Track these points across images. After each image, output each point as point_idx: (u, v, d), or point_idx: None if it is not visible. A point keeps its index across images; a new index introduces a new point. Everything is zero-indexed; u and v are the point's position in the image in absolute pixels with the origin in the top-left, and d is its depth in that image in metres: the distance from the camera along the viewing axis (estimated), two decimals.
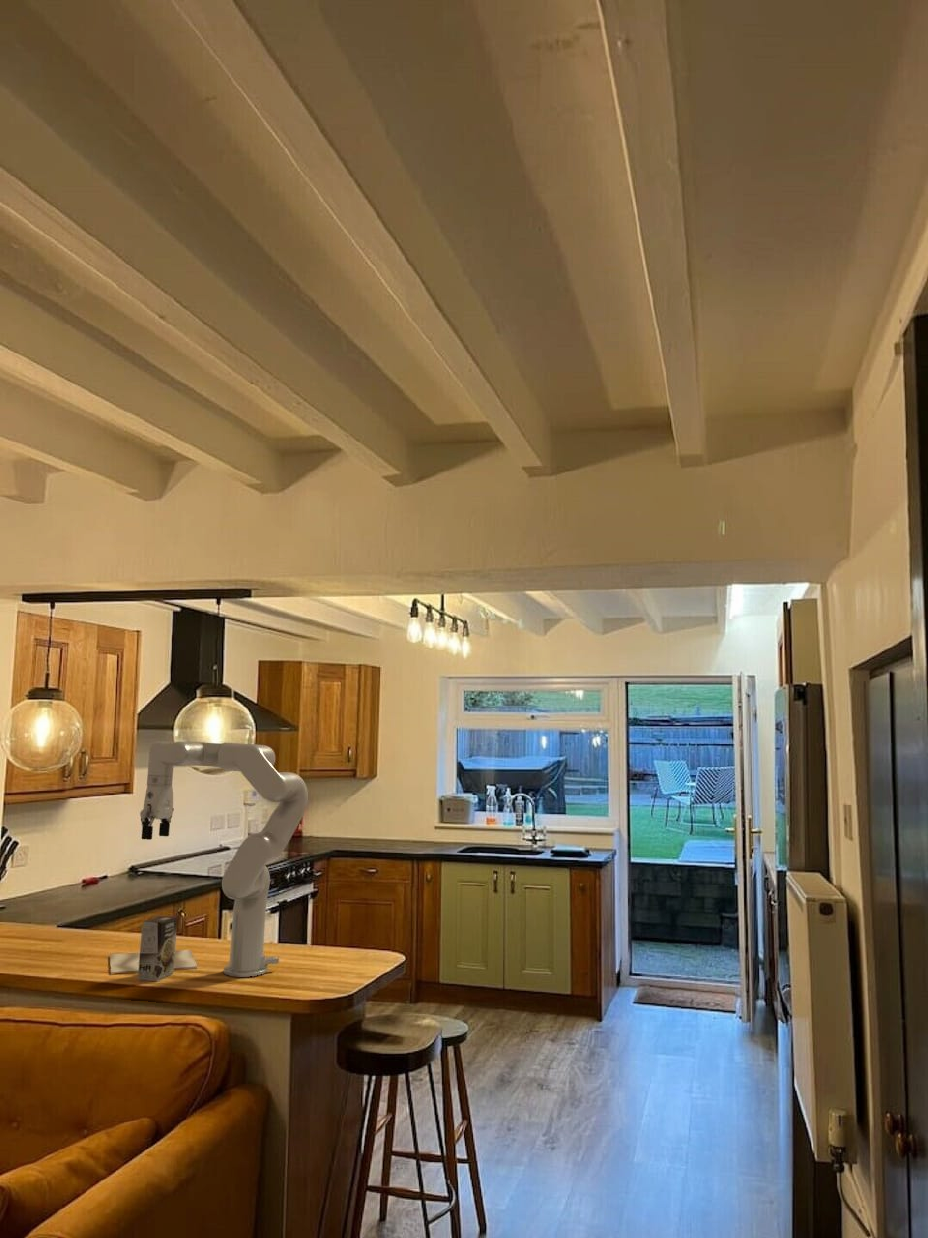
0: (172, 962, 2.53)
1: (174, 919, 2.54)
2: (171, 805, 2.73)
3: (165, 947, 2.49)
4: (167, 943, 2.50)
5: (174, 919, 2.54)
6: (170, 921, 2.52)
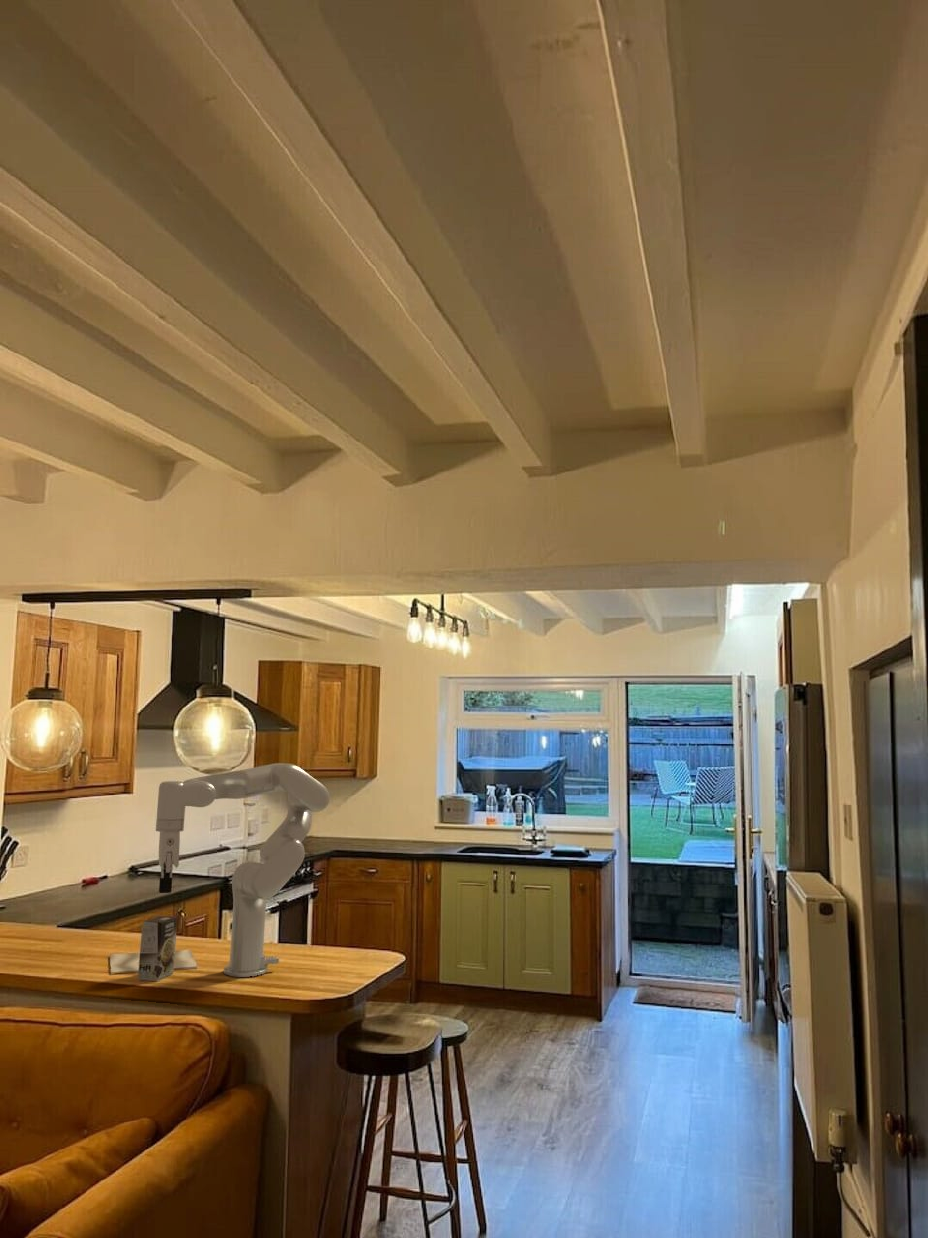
0: (172, 962, 2.53)
1: (174, 919, 2.54)
2: None
3: (165, 947, 2.49)
4: (167, 943, 2.50)
5: (174, 919, 2.54)
6: (170, 921, 2.52)
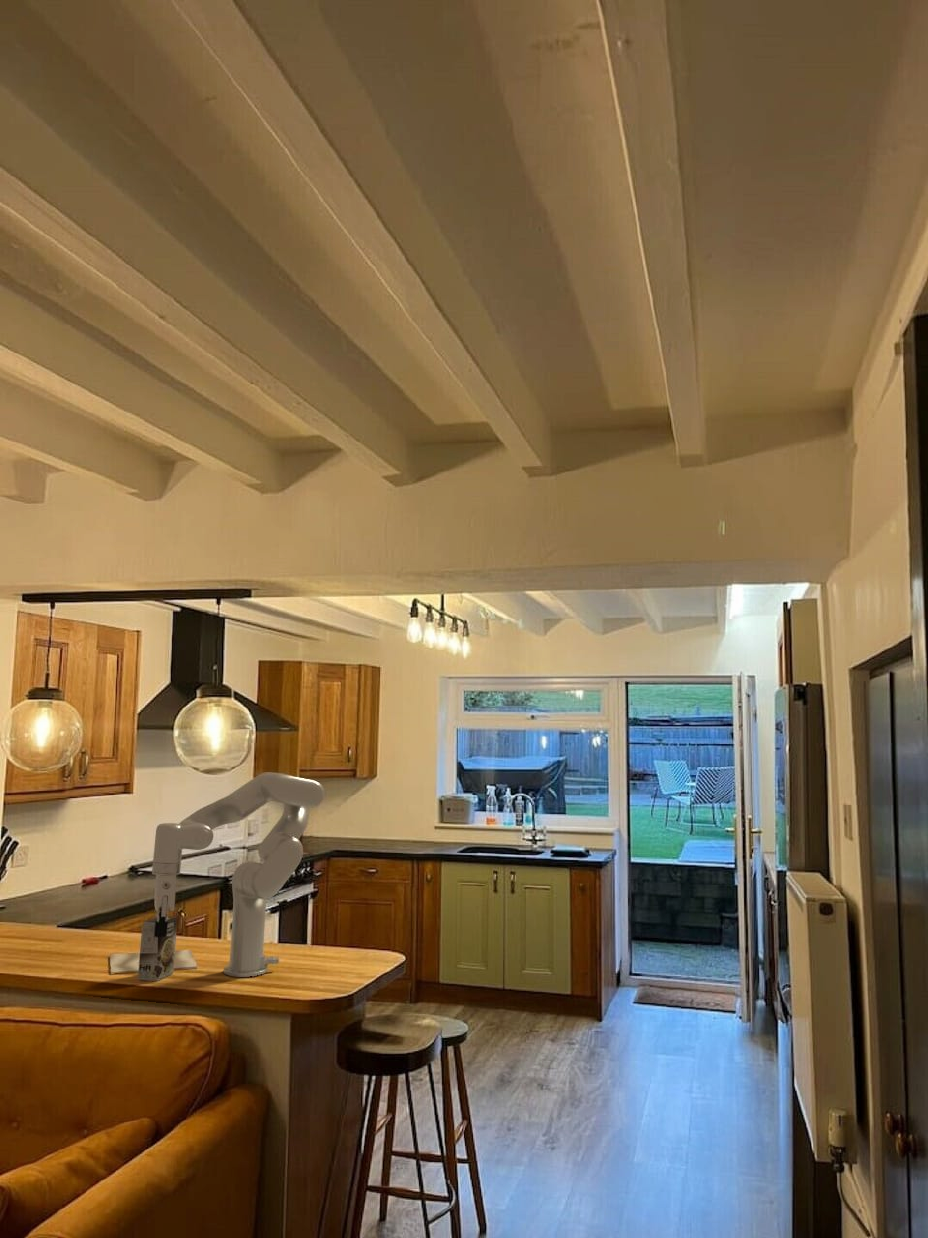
0: (172, 962, 2.53)
1: (174, 919, 2.54)
2: None
3: (165, 947, 2.49)
4: (167, 943, 2.50)
5: (174, 919, 2.54)
6: (170, 921, 2.52)
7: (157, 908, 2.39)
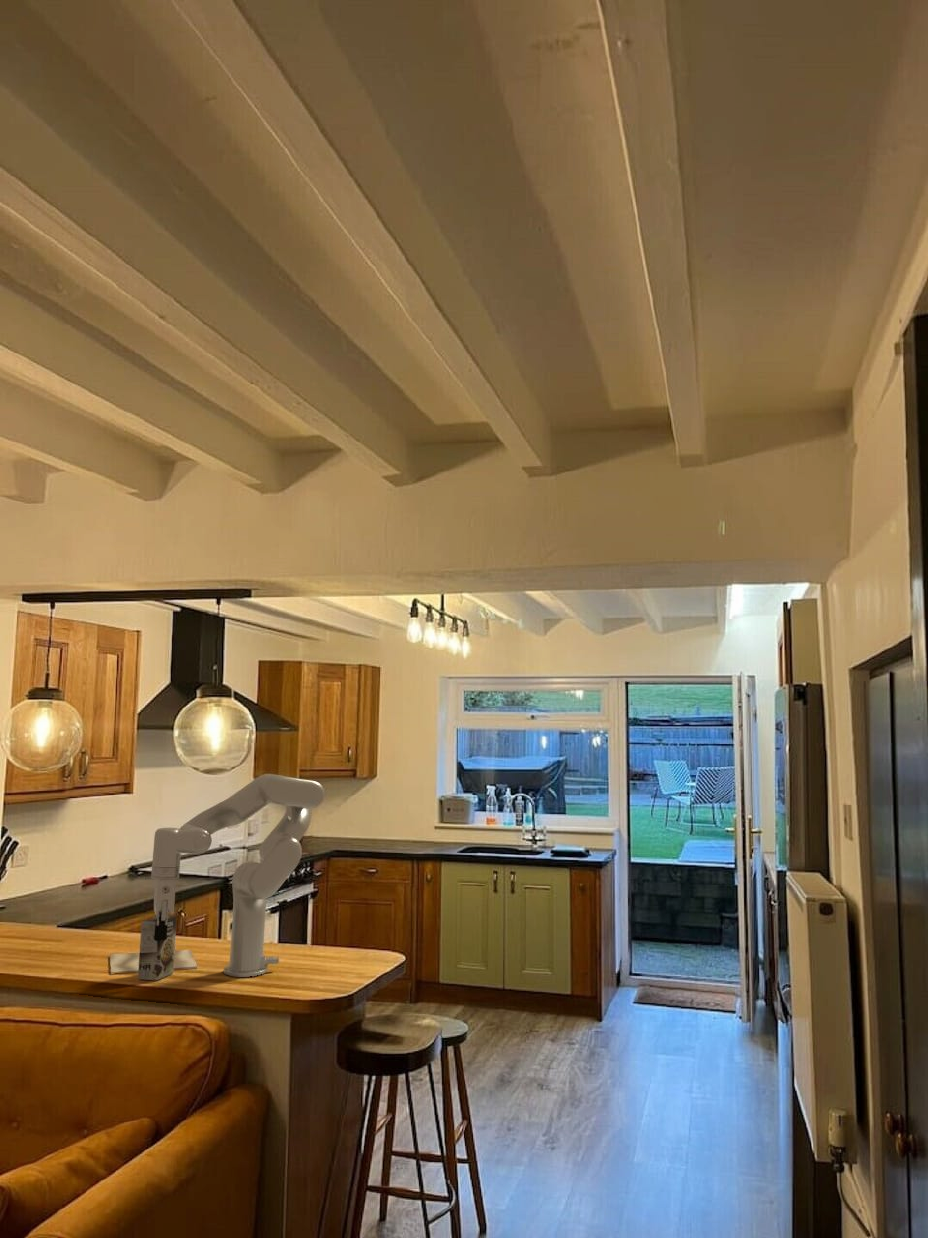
0: (172, 961, 2.53)
1: (173, 918, 2.54)
2: None
3: (165, 946, 2.49)
4: (167, 942, 2.50)
5: (173, 918, 2.54)
6: (169, 920, 2.52)
7: (157, 912, 2.41)
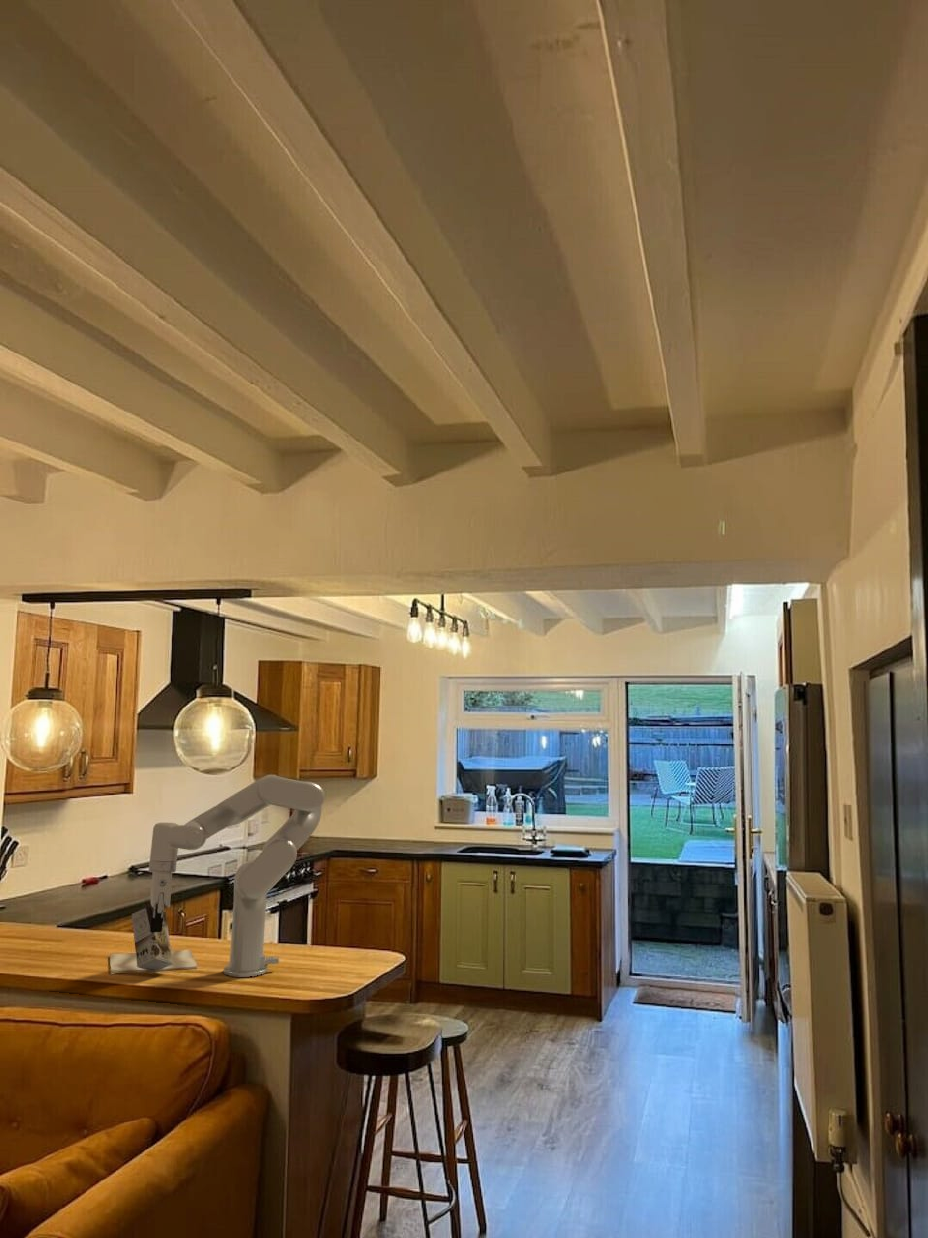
0: (169, 951, 2.55)
1: None
2: None
3: None
4: None
5: (163, 912, 2.62)
6: None
7: (153, 904, 2.48)
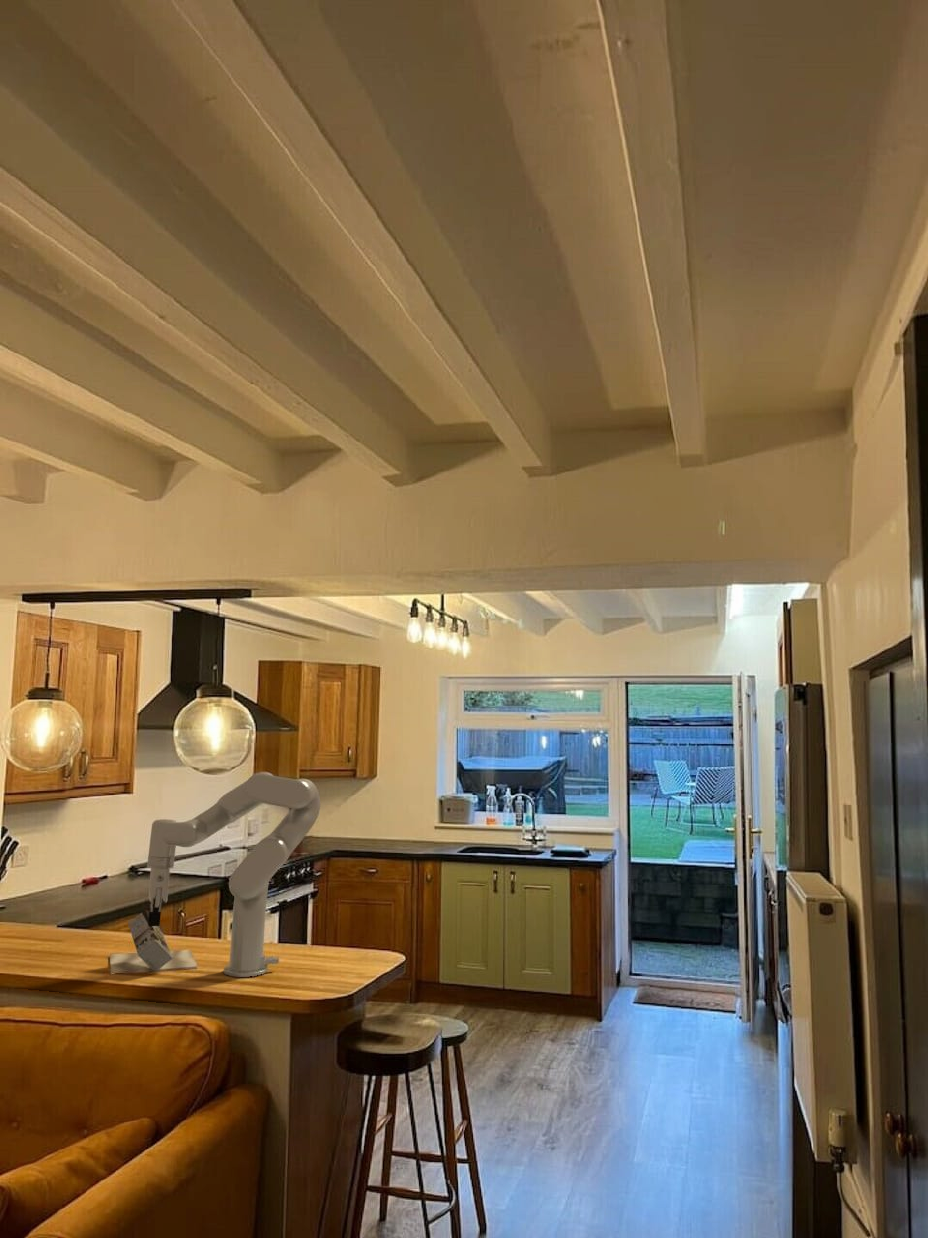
0: (168, 949, 2.59)
1: None
2: None
3: (156, 929, 2.60)
4: (157, 929, 2.62)
5: None
6: None
7: (151, 899, 2.54)
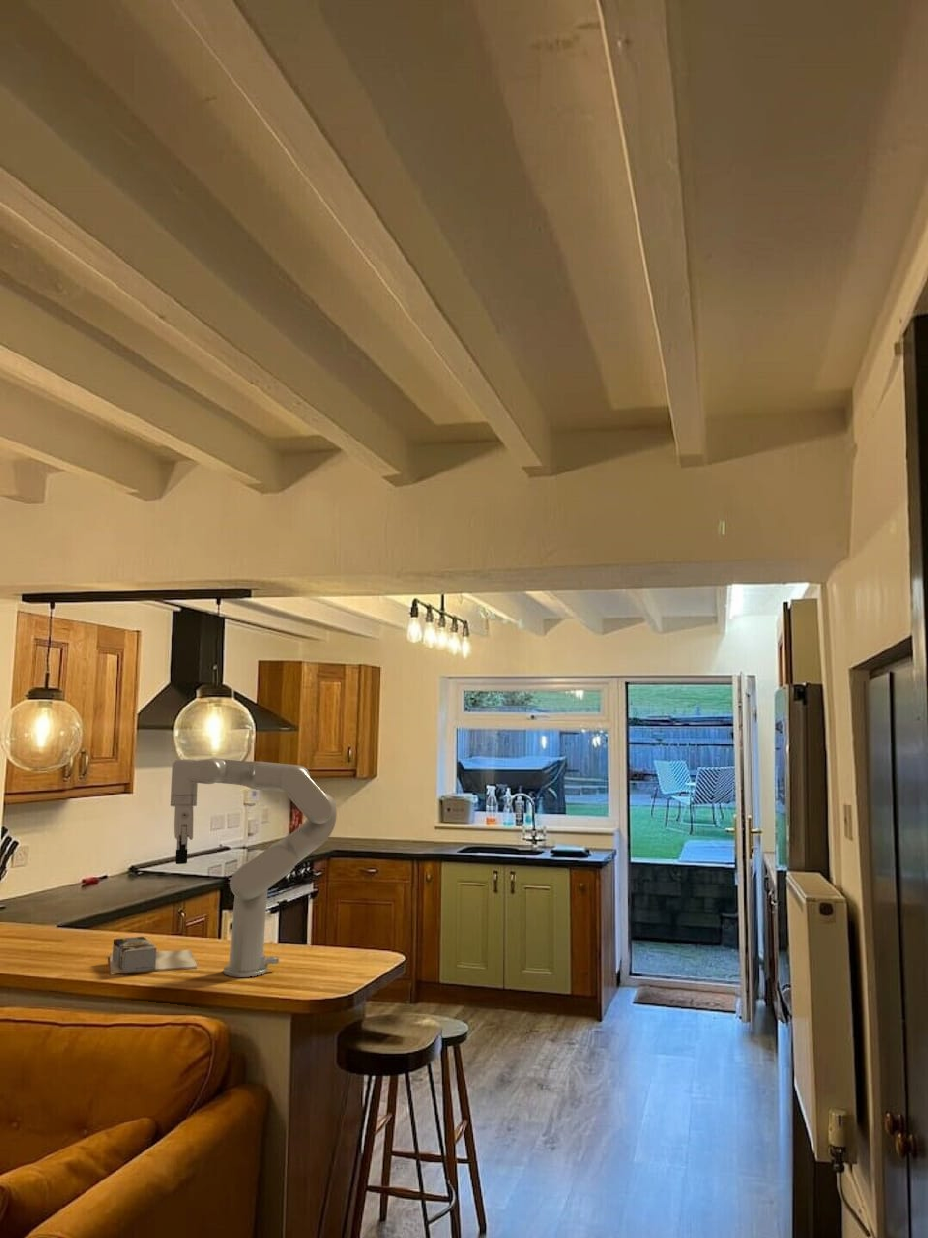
0: (149, 945, 2.58)
1: (137, 937, 2.67)
2: None
3: (129, 943, 2.60)
4: (132, 942, 2.61)
5: (138, 937, 2.68)
6: (130, 938, 2.66)
7: (177, 836, 2.56)
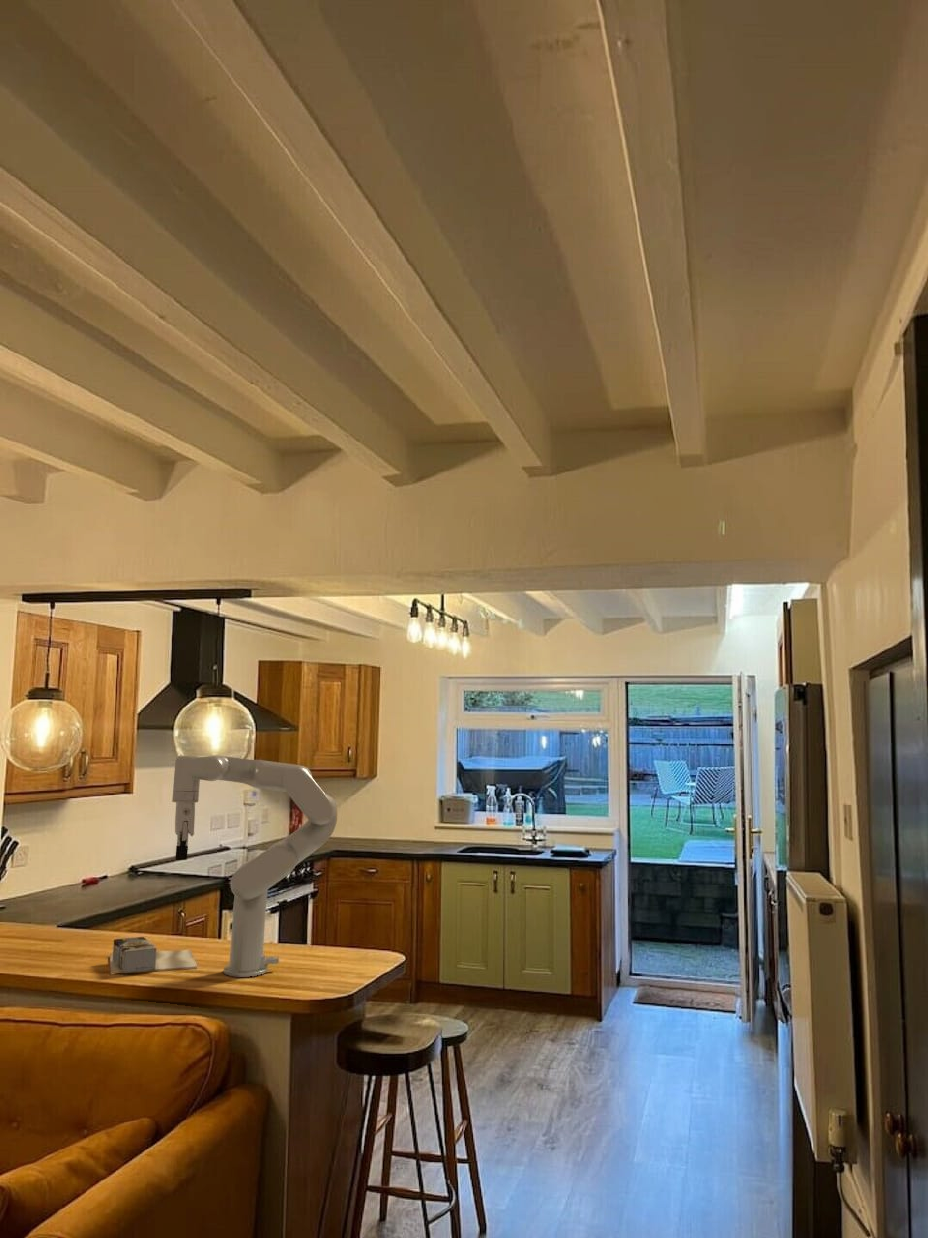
0: (149, 945, 2.58)
1: (137, 937, 2.67)
2: None
3: (129, 943, 2.60)
4: (132, 942, 2.61)
5: (138, 937, 2.68)
6: (130, 938, 2.66)
7: (178, 832, 2.56)
